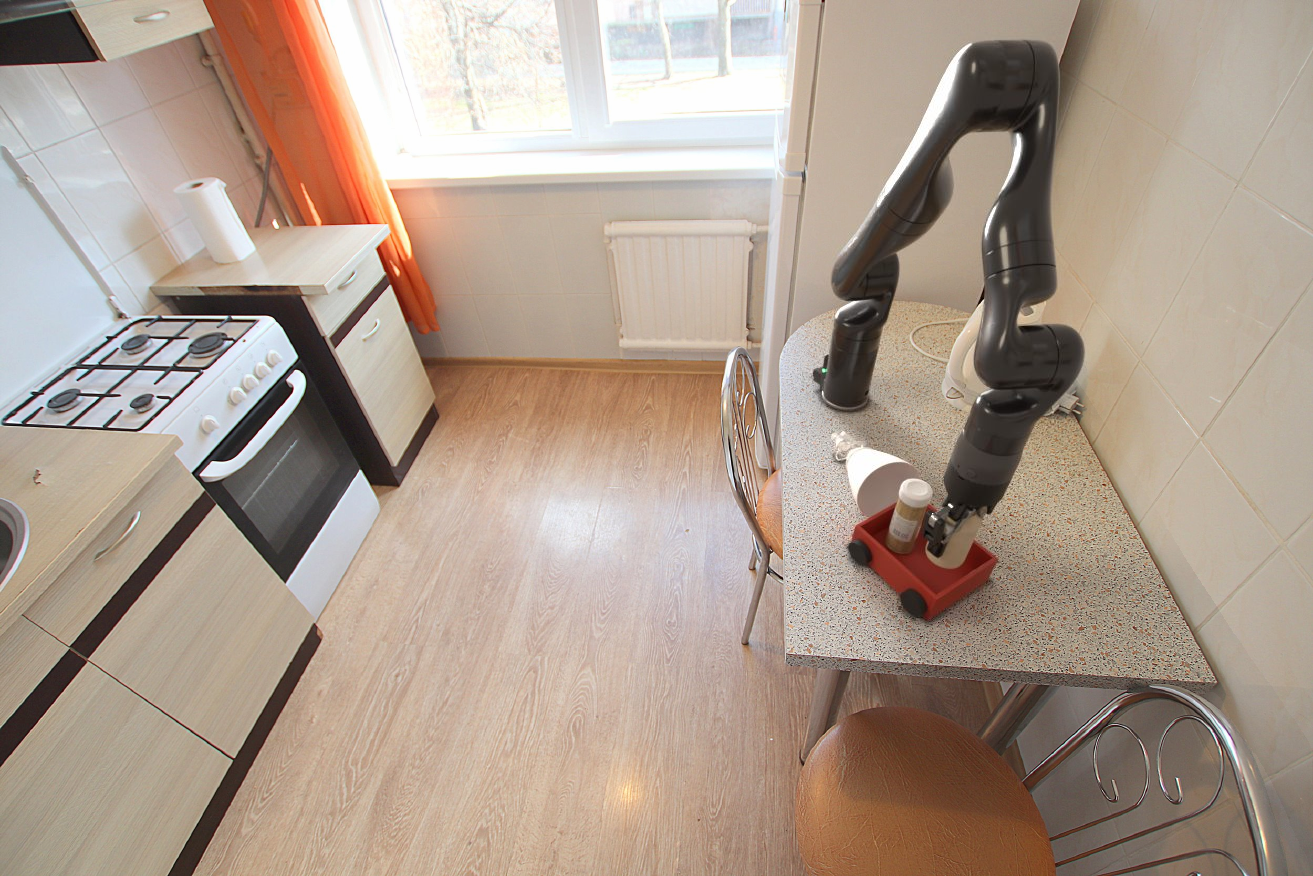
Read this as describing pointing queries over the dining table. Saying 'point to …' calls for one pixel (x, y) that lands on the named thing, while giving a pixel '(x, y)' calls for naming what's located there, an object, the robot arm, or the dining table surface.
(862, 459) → the rocket engine
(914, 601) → the cart wheels
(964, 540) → the candle
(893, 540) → the sprinkles bottle
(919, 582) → the cart
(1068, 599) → the dining table surface
